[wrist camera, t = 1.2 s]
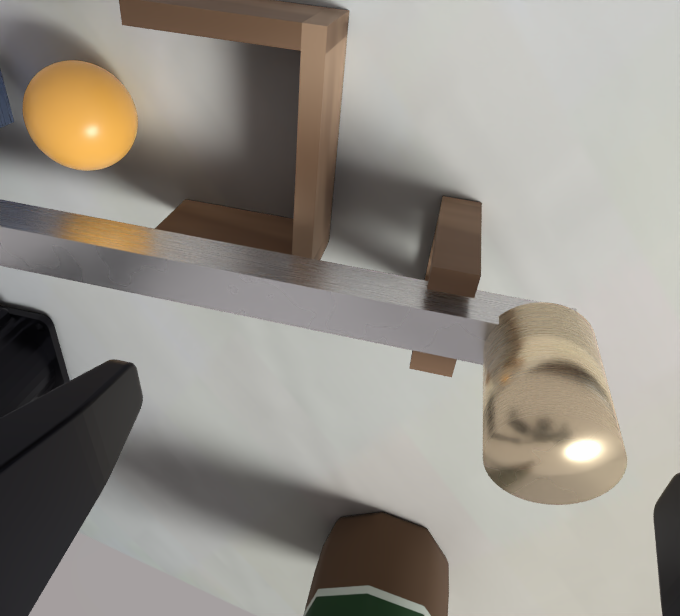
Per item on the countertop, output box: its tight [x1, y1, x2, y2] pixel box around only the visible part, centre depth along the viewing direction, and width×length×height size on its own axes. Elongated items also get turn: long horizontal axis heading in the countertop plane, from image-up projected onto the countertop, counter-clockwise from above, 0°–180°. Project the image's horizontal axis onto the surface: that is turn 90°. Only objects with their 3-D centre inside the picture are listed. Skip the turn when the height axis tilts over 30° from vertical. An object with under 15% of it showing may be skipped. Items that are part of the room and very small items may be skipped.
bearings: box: [410, 196, 482, 377], centre depth 20 cm, size 4×22×5 cm, turn 85°
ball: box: [23, 60, 138, 171], centre depth 19 cm, size 4×4×4 cm
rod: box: [0, 70, 627, 505], centre depth 18 cm, size 6×32×9 cm, turn 85°
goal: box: [119, 0, 349, 260], centre depth 19 cm, size 8×6×3 cm
